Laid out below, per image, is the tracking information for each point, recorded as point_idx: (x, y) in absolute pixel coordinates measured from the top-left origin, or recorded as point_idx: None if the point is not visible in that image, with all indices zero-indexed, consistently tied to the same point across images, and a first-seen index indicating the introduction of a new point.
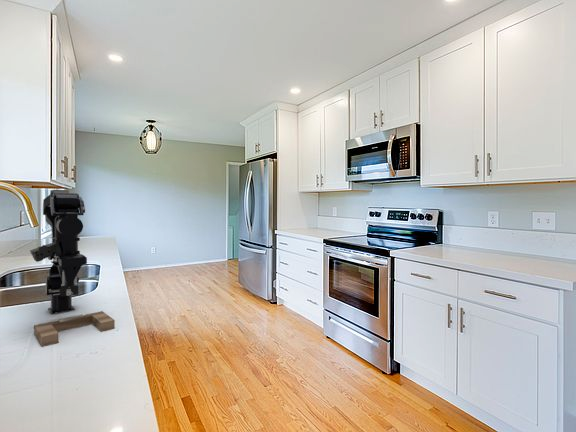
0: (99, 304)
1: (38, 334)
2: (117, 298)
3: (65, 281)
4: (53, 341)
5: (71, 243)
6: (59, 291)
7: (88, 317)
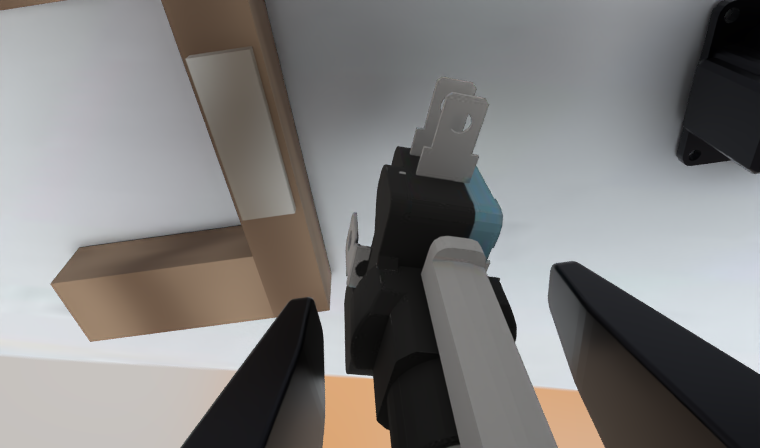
0: (661, 289)
1: None
2: None
3: (281, 356)
4: None
5: None
6: (414, 169)
7: (248, 232)
